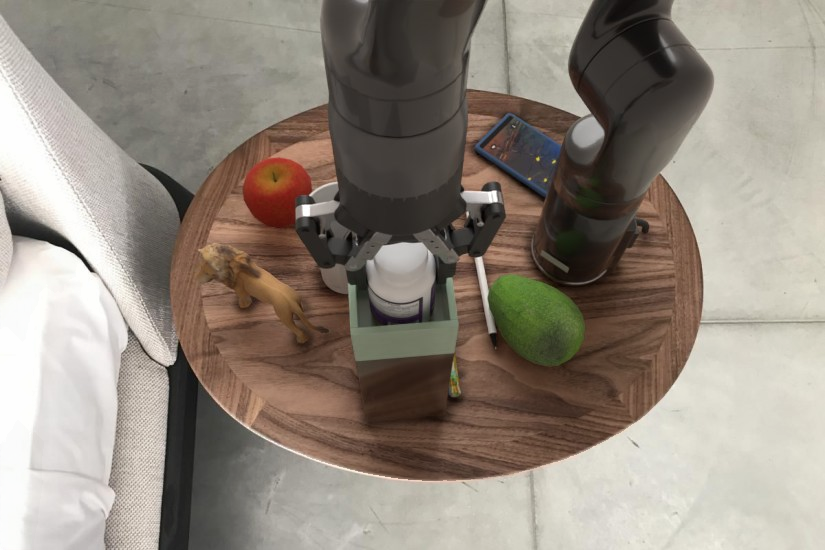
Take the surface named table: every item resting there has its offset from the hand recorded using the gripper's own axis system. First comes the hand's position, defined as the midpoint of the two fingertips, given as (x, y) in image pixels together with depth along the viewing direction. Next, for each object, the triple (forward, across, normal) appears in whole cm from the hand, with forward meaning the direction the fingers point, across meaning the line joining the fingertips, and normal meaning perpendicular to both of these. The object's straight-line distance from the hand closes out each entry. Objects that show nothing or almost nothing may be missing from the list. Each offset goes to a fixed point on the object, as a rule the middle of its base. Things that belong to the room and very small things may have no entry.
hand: (401, 276), depth 55 cm
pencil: (+25, +5, +7) cm, 26 cm away
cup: (+25, -5, +14) cm, 29 cm away
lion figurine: (+25, -15, +10) cm, 30 cm away
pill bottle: (+6, 0, 0) cm, 6 cm away
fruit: (+19, +18, 0) cm, 26 cm away
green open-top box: (+25, 0, 0) cm, 25 cm away
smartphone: (+24, +14, +32) cm, 43 cm away
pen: (+25, +10, +12) cm, 29 cm away
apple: (+25, -13, +23) cm, 36 cm away
